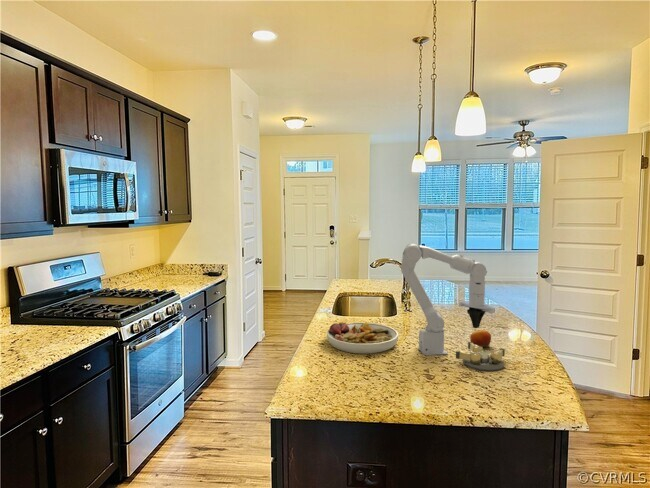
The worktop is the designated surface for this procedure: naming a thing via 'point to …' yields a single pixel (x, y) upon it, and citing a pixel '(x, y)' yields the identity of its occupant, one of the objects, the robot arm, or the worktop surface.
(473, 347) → the knob back
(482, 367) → the level plate
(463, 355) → the knob left
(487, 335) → the fruit
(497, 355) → the knob right
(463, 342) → the worktop surface
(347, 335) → the bowl
